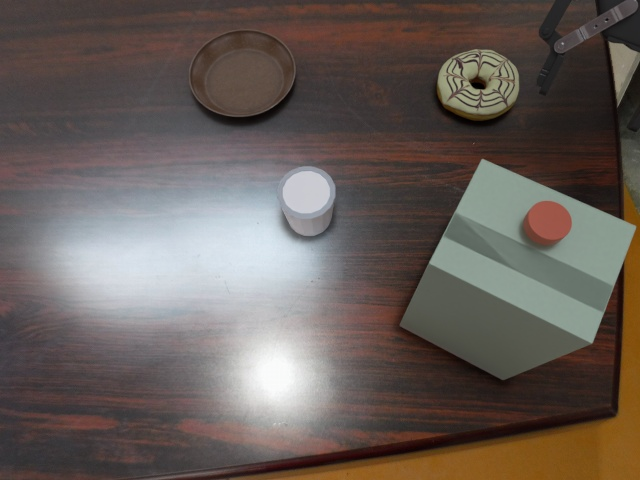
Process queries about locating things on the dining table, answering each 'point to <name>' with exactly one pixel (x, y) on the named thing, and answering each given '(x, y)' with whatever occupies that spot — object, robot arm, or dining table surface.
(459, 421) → the dining table surface
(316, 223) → the white short cylinder
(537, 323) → the box with red button
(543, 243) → the brew button
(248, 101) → the saucer
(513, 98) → the decorated donut
